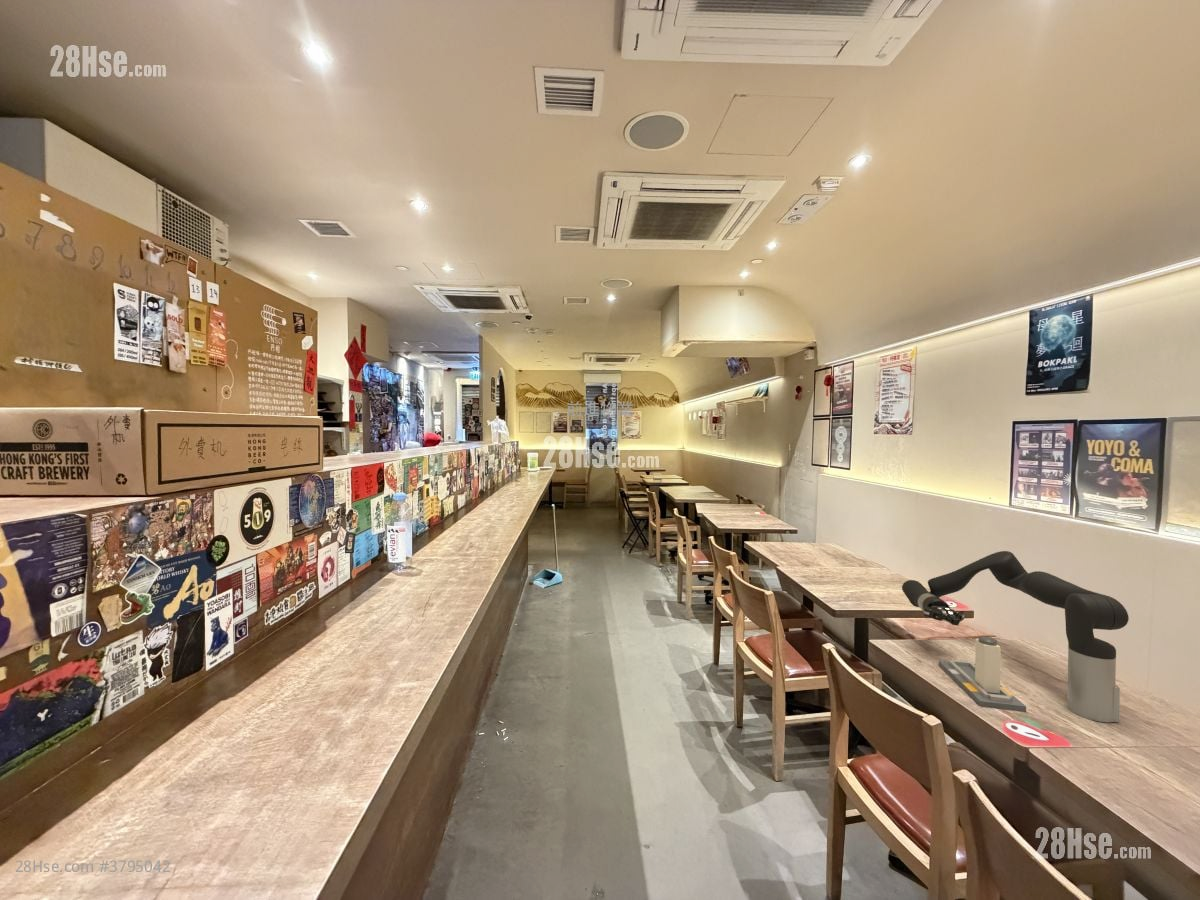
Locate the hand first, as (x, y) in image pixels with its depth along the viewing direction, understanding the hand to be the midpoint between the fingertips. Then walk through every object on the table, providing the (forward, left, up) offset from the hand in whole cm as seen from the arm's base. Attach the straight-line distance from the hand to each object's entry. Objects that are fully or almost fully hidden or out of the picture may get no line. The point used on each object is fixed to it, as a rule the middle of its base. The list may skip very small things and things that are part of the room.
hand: (955, 622), depth 157 cm
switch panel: (-3, +12, -15) cm, 20 cm away
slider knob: (-4, +17, -13) cm, 22 cm away
